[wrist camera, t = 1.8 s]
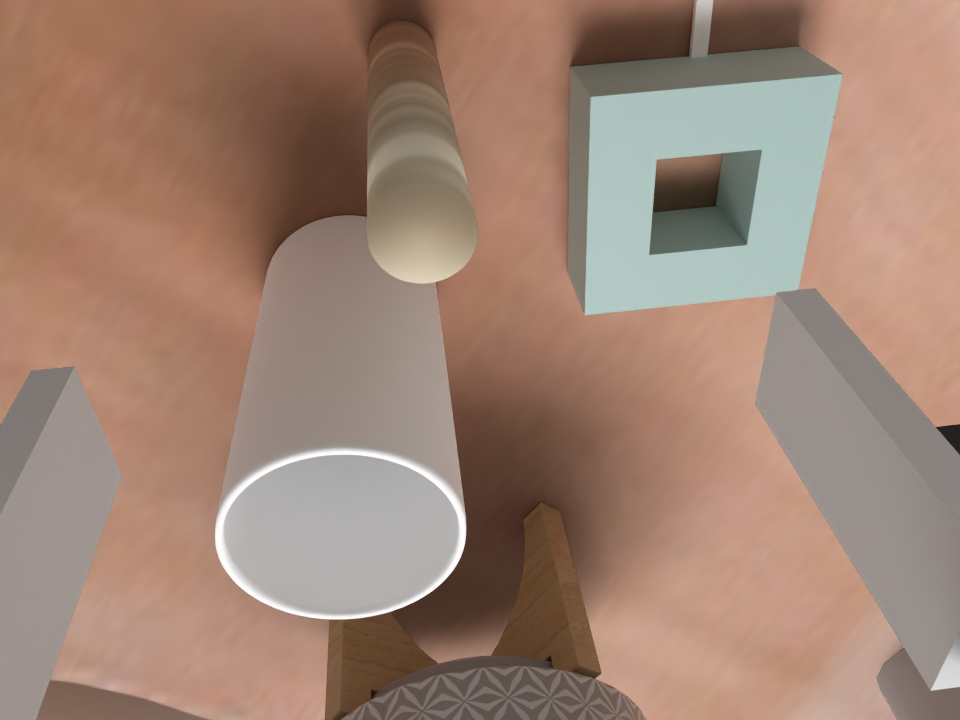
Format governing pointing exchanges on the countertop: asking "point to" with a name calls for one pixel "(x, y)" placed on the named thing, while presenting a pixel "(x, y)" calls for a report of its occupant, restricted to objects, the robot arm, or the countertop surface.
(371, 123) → the beige wooden dowel
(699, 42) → the cream stick
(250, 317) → the countertop surface
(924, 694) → the cup
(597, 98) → the bead
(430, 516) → the cup
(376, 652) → the planter
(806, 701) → the countertop surface
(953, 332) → the countertop surface
